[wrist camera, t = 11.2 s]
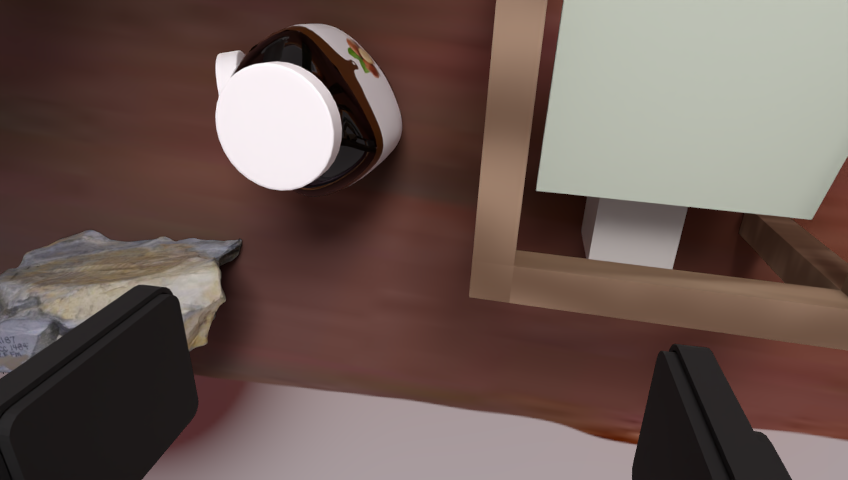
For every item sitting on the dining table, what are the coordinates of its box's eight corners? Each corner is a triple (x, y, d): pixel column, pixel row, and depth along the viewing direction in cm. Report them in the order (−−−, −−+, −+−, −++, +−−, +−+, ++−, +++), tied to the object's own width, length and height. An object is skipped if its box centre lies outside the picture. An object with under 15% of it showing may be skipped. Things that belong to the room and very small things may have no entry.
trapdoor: (572, -64, 22) (572, -60, 21) (947, -55, 20) (962, -49, 19) (536, 180, 30) (535, 190, 29) (804, 208, 27) (811, 219, 27)
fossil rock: (260, 212, 48) (198, 298, 35) (279, 301, 52) (230, 410, 39) (40, 226, 49) (-106, 318, 35) (76, 314, 53) (-43, 426, 39)
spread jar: (426, 131, 39) (382, 172, 28) (311, 205, 43) (236, 265, 32) (329, -20, 36) (241, -37, 26) (217, 74, 40) (102, 93, 30)
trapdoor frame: (524, -90, 32) (511, -167, 19) (874, -84, 29) (1148, -171, 16) (493, 205, 40) (468, 297, 27) (769, 236, 36) (898, 357, 23)
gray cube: (587, 264, 34) (581, 230, 39) (670, 274, 33) (652, 238, 38) (601, 189, 32) (592, 164, 37) (690, 197, 31) (668, 171, 36)
